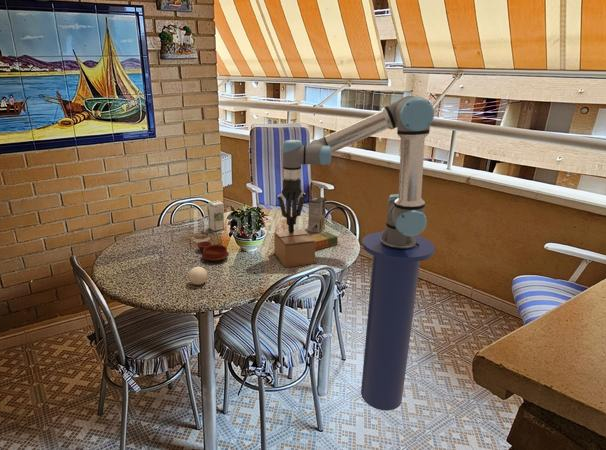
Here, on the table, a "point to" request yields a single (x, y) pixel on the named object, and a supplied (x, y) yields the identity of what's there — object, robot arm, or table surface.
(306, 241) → the box
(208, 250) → the pottery
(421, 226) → the robot arm
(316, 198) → the coffee box
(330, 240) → the carton
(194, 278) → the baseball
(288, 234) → the flap
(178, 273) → the table surface
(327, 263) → the table surface
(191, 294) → the table surface
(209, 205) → the syrup box
